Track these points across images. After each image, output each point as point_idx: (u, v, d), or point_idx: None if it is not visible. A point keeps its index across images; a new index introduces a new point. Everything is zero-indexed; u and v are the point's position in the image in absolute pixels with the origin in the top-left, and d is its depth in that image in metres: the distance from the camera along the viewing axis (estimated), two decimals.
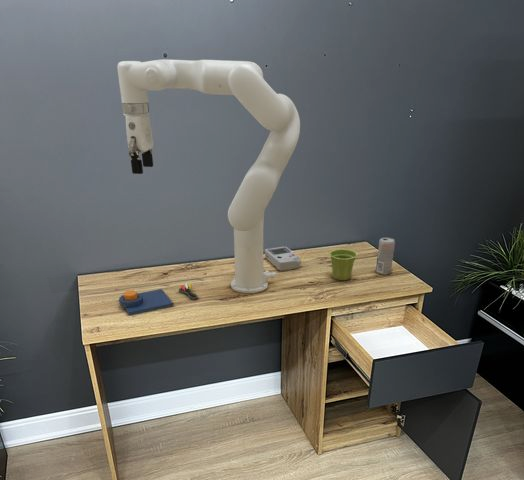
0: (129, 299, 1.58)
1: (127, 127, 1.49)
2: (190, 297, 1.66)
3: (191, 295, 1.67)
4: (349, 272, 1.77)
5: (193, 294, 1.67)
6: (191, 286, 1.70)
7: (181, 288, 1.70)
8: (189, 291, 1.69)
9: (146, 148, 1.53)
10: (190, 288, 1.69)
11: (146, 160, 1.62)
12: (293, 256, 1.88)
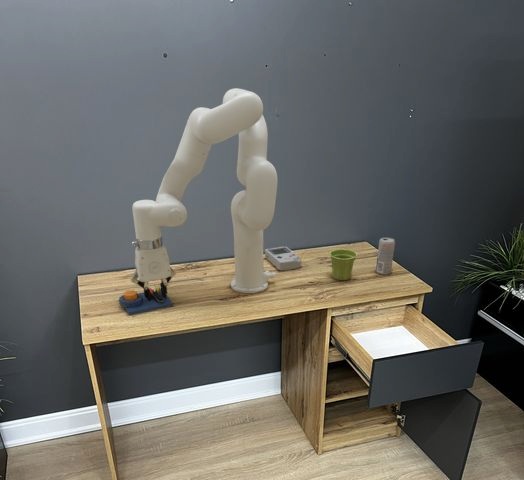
0: (129, 299, 1.58)
1: (135, 257, 1.56)
2: (157, 300, 1.61)
3: (158, 298, 1.63)
4: (349, 272, 1.77)
5: (160, 297, 1.62)
6: (159, 289, 1.66)
7: None
8: (157, 294, 1.64)
9: (147, 279, 1.57)
10: (158, 291, 1.64)
11: (161, 290, 1.64)
12: (293, 256, 1.88)
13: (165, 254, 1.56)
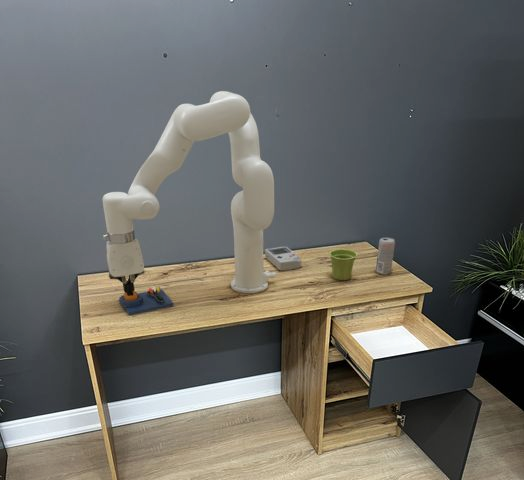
0: (129, 299, 1.58)
1: None
2: (157, 300, 1.61)
3: (158, 298, 1.63)
4: (349, 272, 1.77)
5: (160, 297, 1.62)
6: (159, 289, 1.66)
7: (149, 291, 1.65)
8: (157, 294, 1.64)
9: (119, 274, 1.52)
10: (158, 291, 1.64)
11: None
12: (293, 256, 1.88)
13: (137, 248, 1.51)
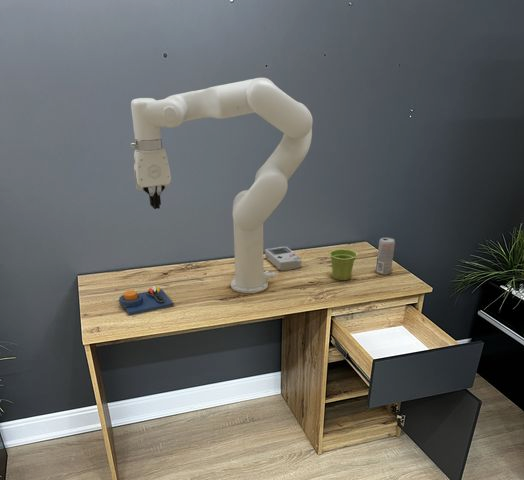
0: (129, 299, 1.58)
1: (134, 161, 1.52)
2: (157, 300, 1.61)
3: (158, 298, 1.63)
4: (349, 272, 1.77)
5: (160, 297, 1.62)
6: (159, 289, 1.65)
7: (149, 291, 1.65)
8: (157, 294, 1.64)
9: (147, 184, 1.52)
10: (158, 291, 1.64)
11: None
12: (293, 256, 1.88)
13: (165, 158, 1.52)
